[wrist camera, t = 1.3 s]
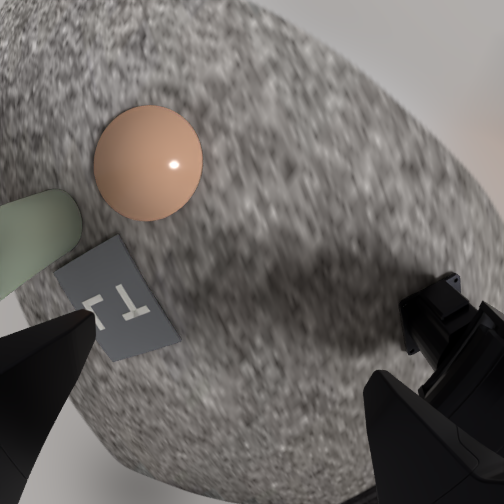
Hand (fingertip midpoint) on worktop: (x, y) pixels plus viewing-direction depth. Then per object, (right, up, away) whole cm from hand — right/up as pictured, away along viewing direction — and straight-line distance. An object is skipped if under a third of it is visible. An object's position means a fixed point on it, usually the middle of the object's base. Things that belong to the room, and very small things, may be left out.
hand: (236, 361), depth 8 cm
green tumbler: (-15, +6, +12) cm, 20 cm away
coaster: (-7, +9, +11) cm, 16 cm away
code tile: (-11, -1, +14) cm, 18 cm away
